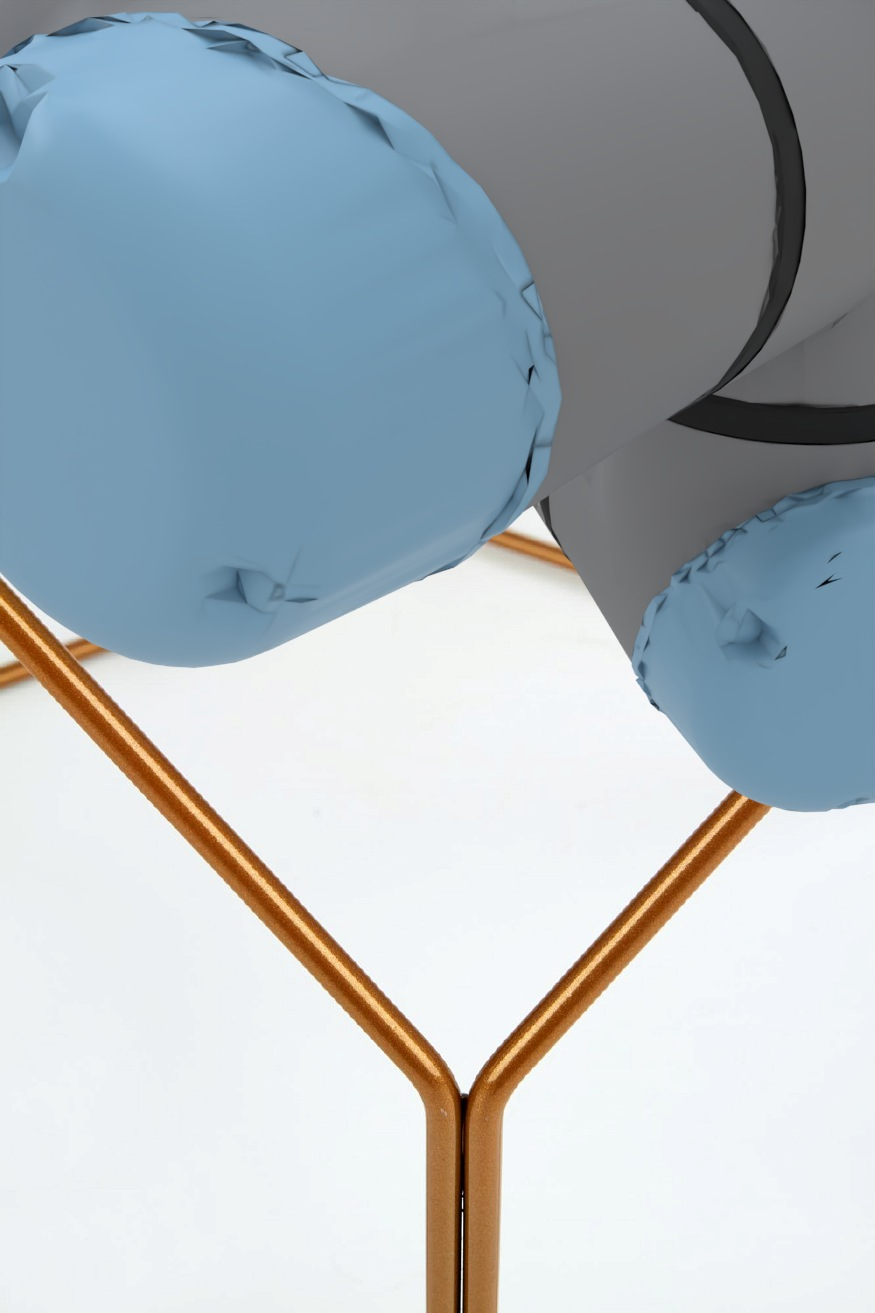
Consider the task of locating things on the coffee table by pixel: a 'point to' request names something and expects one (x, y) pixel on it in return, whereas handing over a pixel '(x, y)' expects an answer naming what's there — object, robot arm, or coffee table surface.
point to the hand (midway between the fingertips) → (424, 166)
